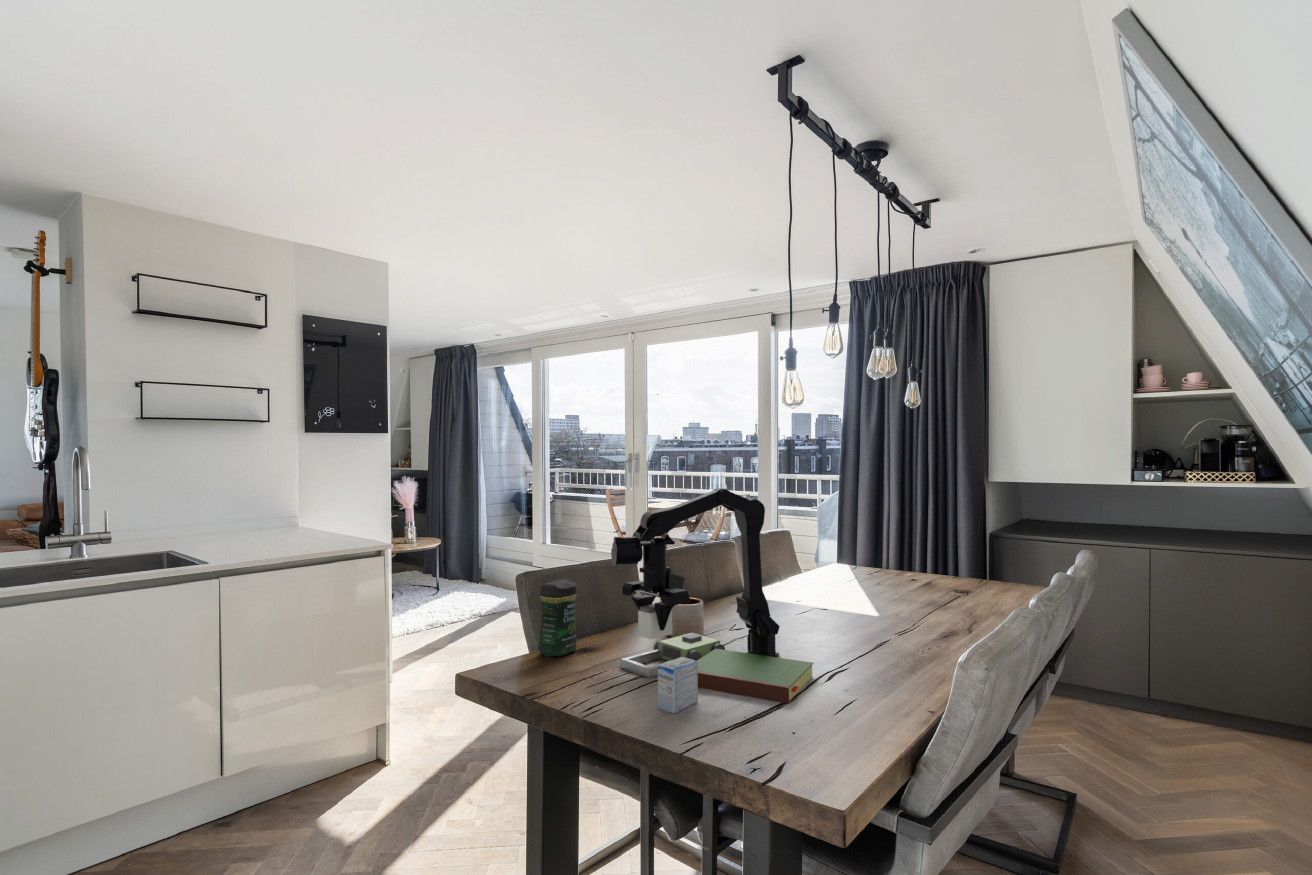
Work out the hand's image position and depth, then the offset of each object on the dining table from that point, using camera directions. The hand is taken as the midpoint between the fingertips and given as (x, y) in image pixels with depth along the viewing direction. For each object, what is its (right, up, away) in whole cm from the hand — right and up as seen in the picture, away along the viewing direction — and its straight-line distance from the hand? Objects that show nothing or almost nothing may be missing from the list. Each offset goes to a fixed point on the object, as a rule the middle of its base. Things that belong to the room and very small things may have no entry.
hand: (655, 628), depth 159 cm
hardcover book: (+21, -9, -11) cm, 26 cm away
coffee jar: (-25, -10, +12) cm, 30 cm away
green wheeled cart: (+9, -9, +7) cm, 15 cm away
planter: (+8, -10, +29) cm, 31 cm away
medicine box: (+5, -9, -26) cm, 27 cm away
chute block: (0, -2, 0) cm, 2 cm away
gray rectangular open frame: (0, -9, 0) cm, 9 cm away
